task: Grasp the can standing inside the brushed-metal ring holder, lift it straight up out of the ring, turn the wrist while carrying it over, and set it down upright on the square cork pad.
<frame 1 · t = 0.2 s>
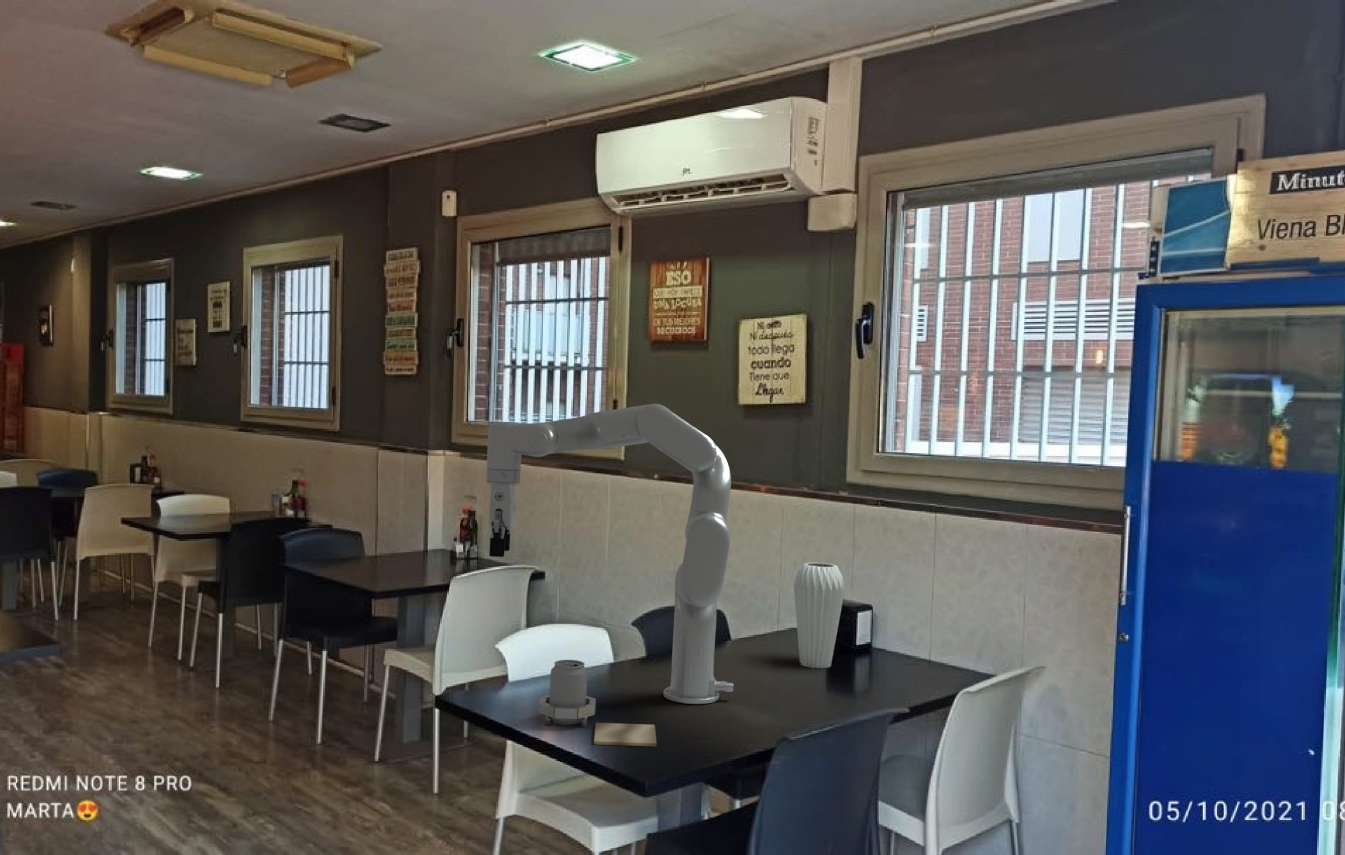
hand: (499, 553, 235), 31 cm above the table, fingers open, 9 cm apart
vase: (815, 665, 275), on the table
cork pad: (625, 735, 207), on the table
ring stand: (566, 720, 216), on the table
can: (566, 721, 216), on the table
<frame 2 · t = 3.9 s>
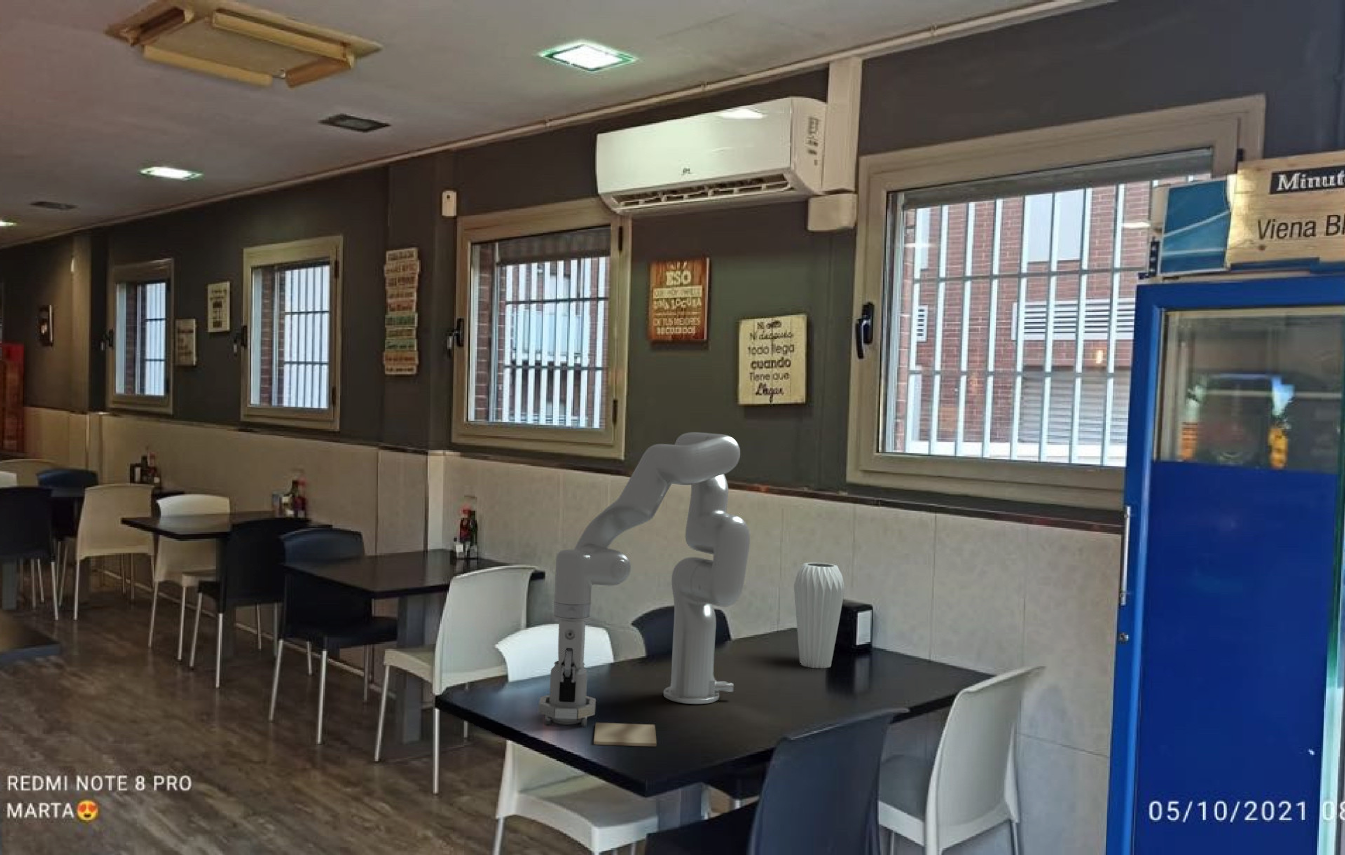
hand: (568, 695, 216), 5 cm above the table, fingers closed on can, 7 cm apart
can: (566, 721, 216), on the table, touching gripper
everything else where it was.
when the fingers open (7 cm above the table, at t = 10.8 s): can drops 1 cm, resting on cork pad.
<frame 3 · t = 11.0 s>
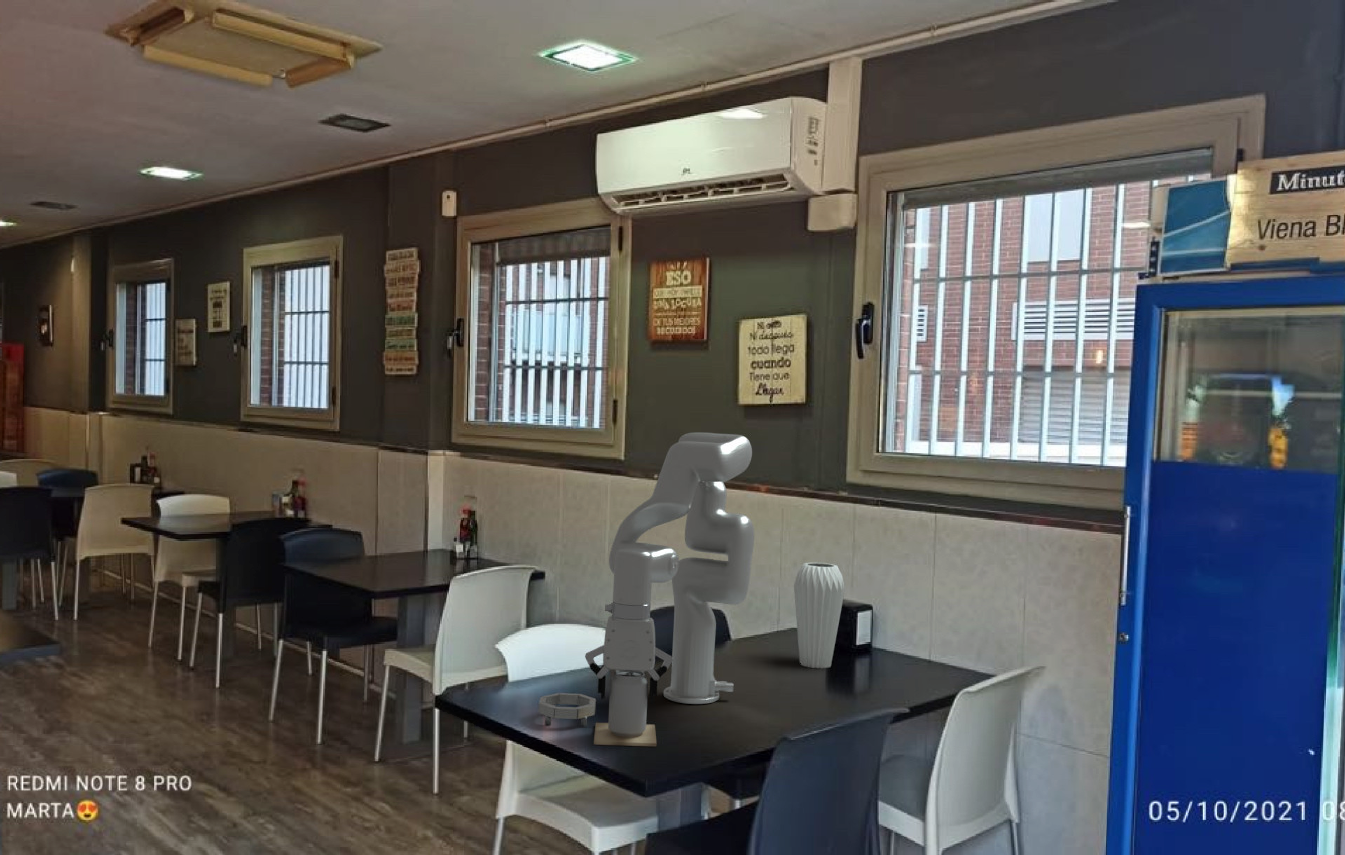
hand: (627, 697, 207), 8 cm above the table, fingers open, 9 cm apart
can: (626, 733, 208), resting on cork pad
everything else where it was.
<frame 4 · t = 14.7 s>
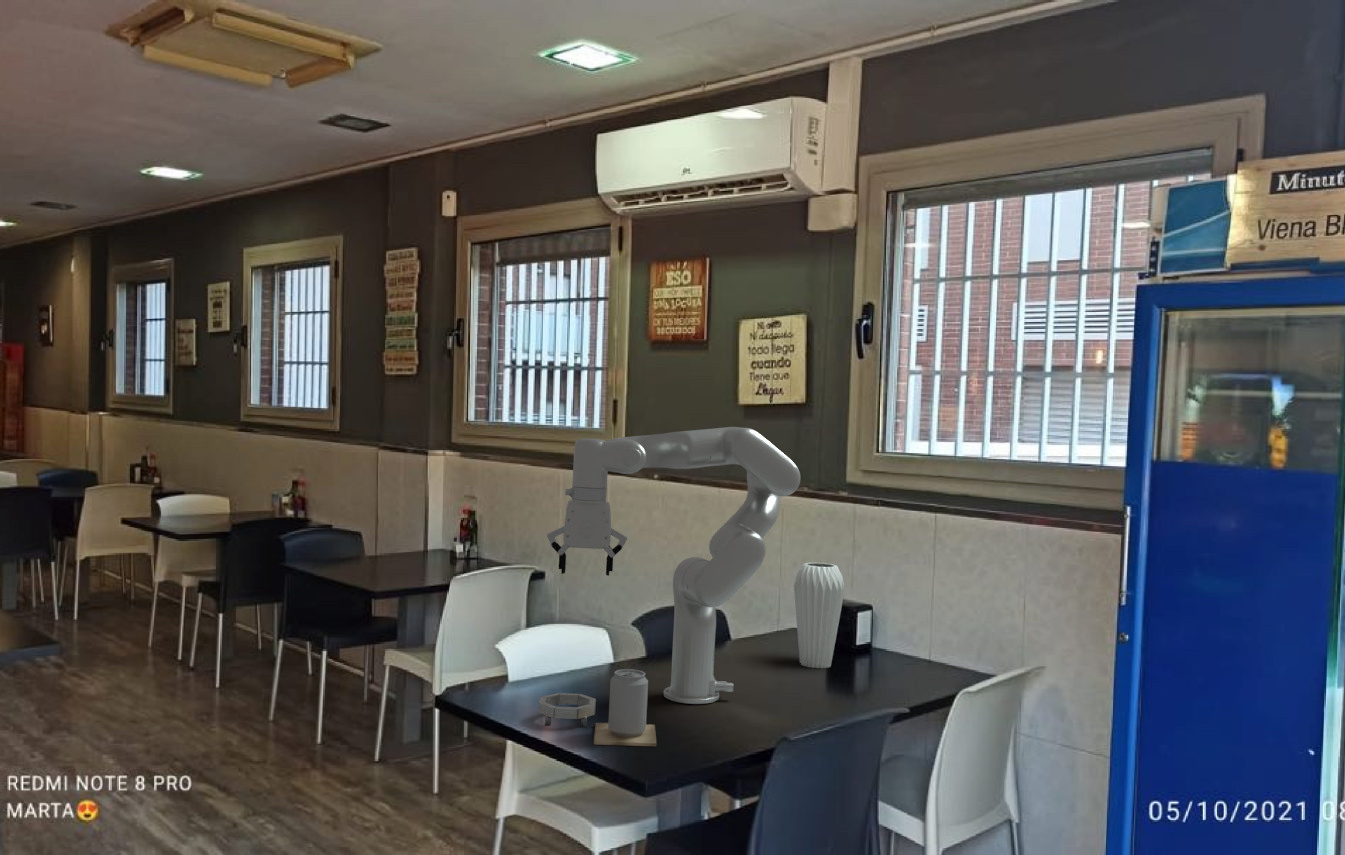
hand: (585, 573, 228), 28 cm above the table, fingers open, 9 cm apart
nothing on the table moved.
at the end: can inside the target area on the cork pad (0.4 cm from its centre), point 0.4 cm above the cork pad's base; can tilted 0°; the gripper is holding nothing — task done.
